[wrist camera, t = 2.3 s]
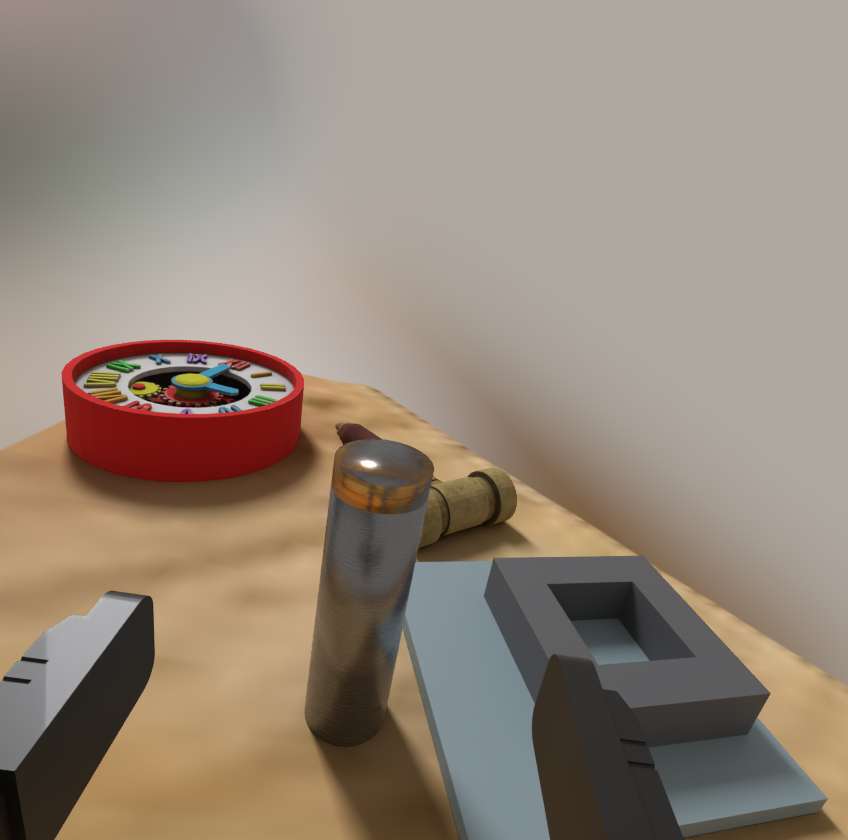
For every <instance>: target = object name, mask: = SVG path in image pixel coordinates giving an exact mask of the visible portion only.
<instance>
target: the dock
mask: <svg viewBox="0 0 848 840" xmlns="http://www.w3.org/2000/svg"><path fill="white" fill-rule="evenodd" d="M403 630H404V634H405V638H406V642H407V645H408V649H409V653H410V656H411V660H412V664H413V668H414V671H415V675H416V679H417V683H418V686H419V690H420V694H421V698H422V701H423V705H424V709H425V712H426V716H427V720H428V724H429V727H430V731H431V735H432V739H433V742H434V746H435V750H436V753H437V757H438V761H439V765H440V768H441V772H442V776H443V780H444V783H445V787H446V791H447V795H448V798H449V802H450V806H451V809H452V813H453V817H454V821H455V824H456V828H457V832H458V836H459V839H460V840H550V837H549V831H548V825H547V820H546V814H545V809H544V803H543V797H542V792H541V786H540V781H539V775H538V770H537V764H536V758H535V753H534V747H533V741H532V716H533V710H534V706H535V703H536V700H537V696H538V693H539V690H540V687H541V684H542V681H543V678H544V674H545V671H546V668H547V665H548V662H549V659H550V657H551V656H552V655H553V654H558V655H565V656H572V657H580V658H587V659H590V660H592V662H593V663H594V665H595V668H596V671H597V674H598V677H599V680H600V683H601V686H602V688H603V689H606V690H614V691H617V692H618V693H619V694H620V696H621V697H622V698H623V700H624V701H625V702H626V703H627V705H628V706H629V707H630V708H631V710H632V711H633V712H634V713H635V715H636V717H637V719H638V722H639V725H640V727H641V730H642V732H643V735H644V737H645V740H646V747H648V748H649V750H650V753H651V755H652V758H653V760H654V763H655V770H657V771H658V773H659V776H660V778H661V781H662V784H663V786H664V789H665V791H666V794H667V796H668V799H669V802H670V804H671V807H672V809H673V812H674V814H675V817H676V820H677V822H678V825H679V827H680V830H681V832H682V835H683V838H684V837H690V836H695V835H700V834H705V833H711V832H716V831H721V830H727V829H732V828H737V827H743V826H748V825H753V824H758V823H764V822H769V821H774V820H780V819H785V818H790V817H795V816H801V815H806V814H811V813H817V812H819V811H820V809H821V808H822V806H823V805H824V803H825V802H826V801H827V799H828V798H827V797H826V796H825V795H824V794H823V793H822V792H821V790H820V789H819V788H818V787H817V786H816V785H815V783H814V782H813V781H812V780H811V779H810V778H809V777H808V775H807V774H806V773H805V772H804V771H803V770H802V768H801V767H800V766H799V765H798V764H797V763H796V761H795V760H794V759H793V758H792V757H791V756H790V755H789V753H788V752H787V751H786V750H785V749H784V748H783V746H782V745H781V744H780V743H779V742H778V741H777V740H776V738H775V737H774V736H773V735H772V734H771V733H770V731H769V730H768V729H767V728H766V727H765V726H764V724H763V723H762V722H761V721H760V720H759V719H758V718H757V717H758V715H759V713H760V711H761V710H762V708H763V706H764V704H765V702H766V701H767V699H768V697H769V695H770V694H771V693H770V692H769V691H768V690H767V689H766V688H765V687H764V686H763V685H762V684H761V682H760V681H759V680H758V679H757V678H756V677H755V676H754V675H753V674H752V673H751V672H750V671H749V670H748V668H747V667H746V666H745V665H744V664H743V663H742V662H741V661H740V660H739V659H738V658H737V657H736V656H735V655H734V653H733V652H732V651H731V650H730V649H729V648H728V647H727V646H726V645H725V644H724V643H723V642H722V641H721V639H720V638H719V637H718V636H717V635H716V634H715V633H714V632H713V631H712V630H711V629H710V628H709V627H708V625H707V624H706V623H705V622H704V621H703V620H702V619H701V618H700V617H699V616H698V615H697V614H696V613H695V611H694V610H693V609H692V608H691V607H690V606H689V605H688V604H687V603H686V602H685V601H684V600H683V599H682V597H681V596H680V595H679V594H678V593H677V592H676V591H675V590H674V589H673V588H672V587H671V586H670V585H669V583H668V582H667V581H666V580H665V579H664V578H663V577H662V576H661V575H660V574H659V573H658V572H657V571H656V569H655V568H654V567H653V566H652V565H651V564H650V563H649V562H648V561H647V560H646V559H645V558H644V557H643V556H602V557H531V558H493V561H454V562H415V567H414V572H413V577H412V582H411V587H410V592H409V598H408V603H407V608H406V613H405V618H404V623H403Z"/></svg>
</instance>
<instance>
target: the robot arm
mask: <svg viewBox="0 0 848 840" xmlns="http://www.w3.org/2000/svg"><path fill="white" fill-rule="evenodd" d="M154 657H155V647H154V614H153V600H152V598H151V597H150V596H145V595H138V594H131V593H124V592H117V591H109V592H107V593H106V594H104V596H103V597H102V598H101V599H100V600H99V601H98V602H97V604H96V605H95V606H94V607H93V608H92V610H91V611H90V612H89V613H88V614H87V615H86V616H79V615H71V616H69V617H68V618H66V619H65V620H63V621H61V622H60V623H58V624H57V625H55V626H53V627H52V628H50V629H49V630H47V631H45V632H44V633H43V634H42V635H41V636H40V637H39V638H38V639H37V640H36V641H35V642H34V644H33V645H32V646H31V647H30V648H29V649H28V650H27V651H26V652H25V653H24V655H23V656H22V658H21V660H20V661H17V662H16V663H15V664H14V666H13V667H12V668H11V669H10V670H9V671H8V672H7V673H6V674H5V675H4V678H3V680H2V681H0V840H54V839H55V838H56V836H57V834H58V833H59V831H60V829H61V828H62V826H63V824H64V823H65V821H66V819H67V817H68V816H69V814H70V812H71V811H72V809H73V807H74V806H75V804H76V802H77V801H78V799H79V797H80V796H81V794H82V792H83V791H84V789H85V787H86V786H87V784H88V782H89V781H90V779H91V777H92V776H93V774H94V772H95V771H96V769H97V767H98V766H99V764H100V762H101V761H102V759H103V757H104V756H105V754H106V752H107V751H108V749H109V747H110V746H111V744H112V742H113V741H114V739H115V737H116V736H117V734H118V732H119V731H120V729H121V727H122V726H123V724H124V722H125V721H126V719H127V717H128V716H129V714H130V712H131V711H132V709H133V707H134V706H135V704H136V702H137V701H138V699H139V697H140V696H141V694H142V692H143V691H144V689H145V687H146V685H147V683H148V680H149V678H150V675H151V672H152V668H153V664H154ZM532 741H533V747H534V753H535V758H536V764H537V770H538V775H539V781H540V786H541V792H542V797H543V803H544V809H545V814H546V820H547V825H548V831H549V837H550V840H684V838H683V835H682V832H681V830H680V827H679V825H678V822H677V820H676V817H675V814H674V812H673V809H672V807H671V804H670V802H669V799H668V796H667V794H666V791H665V789H664V786H663V784H662V781H661V778H660V776H659V773H658V771H657V770H655V763H654V760H653V758H652V755H651V753H650V750H649V748H648V747H646V740H645V737H644V735H643V732H642V730H641V727H640V725H639V722H638V719H637V717H636V715H635V713H634V712H633V711H632V710H631V708H630V707H629V706H628V705H627V703H626V702H625V701H624V700H623V698H622V697H621V696H620V694H619V693H618V692H617V691H614V690H606V689H603V688H602V686H601V683H600V680H599V677H598V674H597V671H596V668H595V665H594V663H593V662H592V660H590V659H587V658H580V657H572V656H565V655H558V654H553V655H552V656H551V657H550V659H549V662H548V665H547V668H546V671H545V674H544V678H543V681H542V684H541V687H540V690H539V693H538V696H537V700H536V703H535V706H534V710H533V716H532Z"/></svg>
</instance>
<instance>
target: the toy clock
mask: <svg viewBox="0 0 848 840" xmlns="http://www.w3.org/2000/svg"><path fill="white" fill-rule="evenodd" d="M62 383H63V396H64V407H65V419H66V431H67V442H68V444H69V446H70V447H71V449H72V451H73V452H74V453H75V454H77V455H78V456H79V457H80V458H81V459H82V460H84V461H86V462H88V463H90V464H91V465H93V466H95V467H97V468H100V469H103V470H106V471H108V472H111V473H114V474H119V475H123V476H127V477H132V478H137V479H145V480H153V481H166V482H196V481H210V480H218V479H226V478H231V477H236V476H241V475H245V474H249V473H252V472H255V471H258V470H261V469H264V468H267V467H269V466H271V465H273V464H275V463H277V462H279V461H281V460H282V459H283V458H285V457H286V456H288V455H289V454H290V453H291V452H292V451H293V450H294V448H295V447H296V446H297V443H298V441H299V437H300V425H301V413H302V401H303V389H304V379H303V377H302V375H301V373H300V372H299V371H298V370H297V369H296V368H295V367H294V366H292V365H290V364H289V363H287V362H286V361H283V360H282V359H279V358H277V357H275V356H272V355H269V354H267V353H264V352H260V351H257V350H253V349H250V348H244V347H240V346H235V345H229V344H222V343H214V342H205V341H191V340H152V341H139V342H129V343H123V344H116V345H111V346H106V347H102V348H98V349H95V350H92V351H89V352H86V353H84V354H82V355H80V356H78V357H76V358H74V359H72V360H71V361H70V362H69V363H68V364H66V365H65V367H64V369H63V371H62Z"/></svg>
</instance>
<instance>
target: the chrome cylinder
mask: <svg viewBox="0 0 848 840" xmlns="http://www.w3.org/2000/svg"><path fill="white" fill-rule="evenodd" d="M433 472H434V466H433V463H432V462H431V460H430V459H429V458H428V457H427V456H426V455H425V454H423V453H422V452H421V451H419V450H417V449H415V448H413V447H411V446H408V445H405V444H402V443H399V442H395V441H389V440H382V439H363V440H356V441H352V442H349V443H346V444H344V445H343V446H341V447H340V448H339V449H338V450H337V451H336V453H335V458H334V466H333V475H332V483H331V491H330V500H329V508H328V517H327V525H326V534H325V542H324V550H323V559H322V567H321V576H320V584H319V592H318V601H317V609H316V618H315V626H314V634H313V643H312V651H311V660H310V668H309V677H308V685H307V693H306V702H305V718H306V721H307V724H308V726H309V727H310V729H311V730H312V732H313V733H314V734H315V735H316V736H317V737H319V738H320V739H322V740H323V741H325V742H327V743H330V744H333V745H337V746H353V745H357V744H361V743H363V742H365V741H367V740H369V739H370V738H372V737H373V736H374V735H375V734H376V733H377V732H378V731H379V729H380V728H381V726H382V724H383V721H384V718H385V713H386V708H387V703H388V698H389V693H390V688H391V683H392V678H393V673H394V668H395V663H396V658H397V653H398V648H399V643H400V638H401V633H402V628H403V623H404V618H405V613H406V608H407V603H408V598H409V592H410V587H411V582H412V577H413V572H414V567H415V562H416V557H417V552H418V547H419V542H420V537H421V532H422V527H423V522H424V517H425V512H426V507H427V502H428V497H429V492H430V487H431V482H432V477H433Z"/></svg>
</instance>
